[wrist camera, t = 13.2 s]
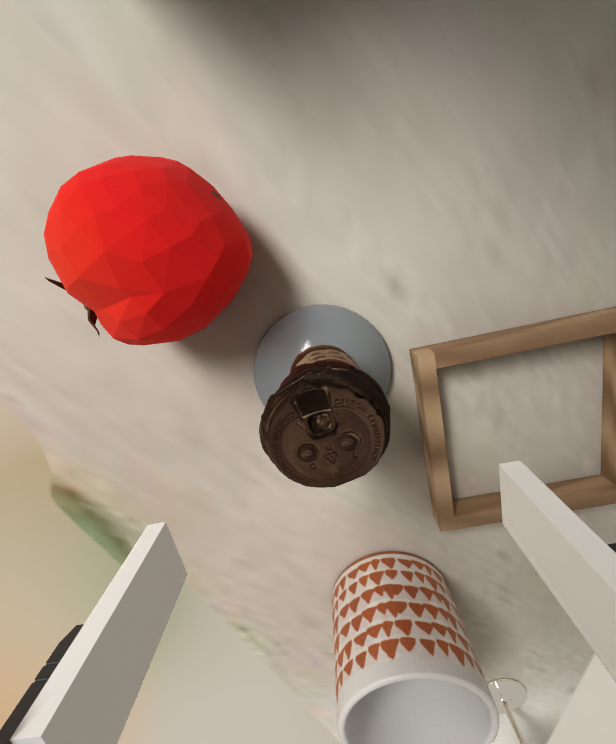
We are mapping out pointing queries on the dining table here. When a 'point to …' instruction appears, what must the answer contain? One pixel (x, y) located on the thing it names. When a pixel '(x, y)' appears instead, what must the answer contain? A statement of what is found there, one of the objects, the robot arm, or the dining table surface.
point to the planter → (405, 658)
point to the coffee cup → (325, 420)
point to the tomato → (146, 248)
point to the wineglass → (508, 700)
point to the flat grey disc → (315, 330)
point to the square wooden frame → (425, 360)
